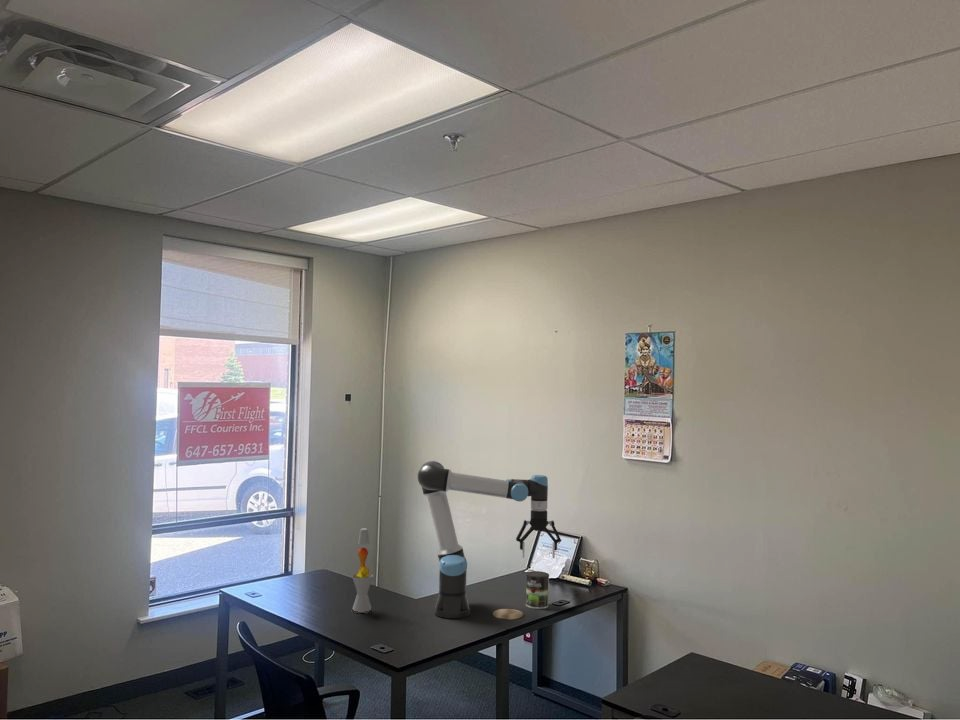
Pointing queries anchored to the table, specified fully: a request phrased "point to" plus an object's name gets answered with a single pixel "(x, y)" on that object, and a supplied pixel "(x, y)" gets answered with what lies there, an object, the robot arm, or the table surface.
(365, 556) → the lava lamp
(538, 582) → the coffee can
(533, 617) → the table surface
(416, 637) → the table surface
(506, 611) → the cork mat
